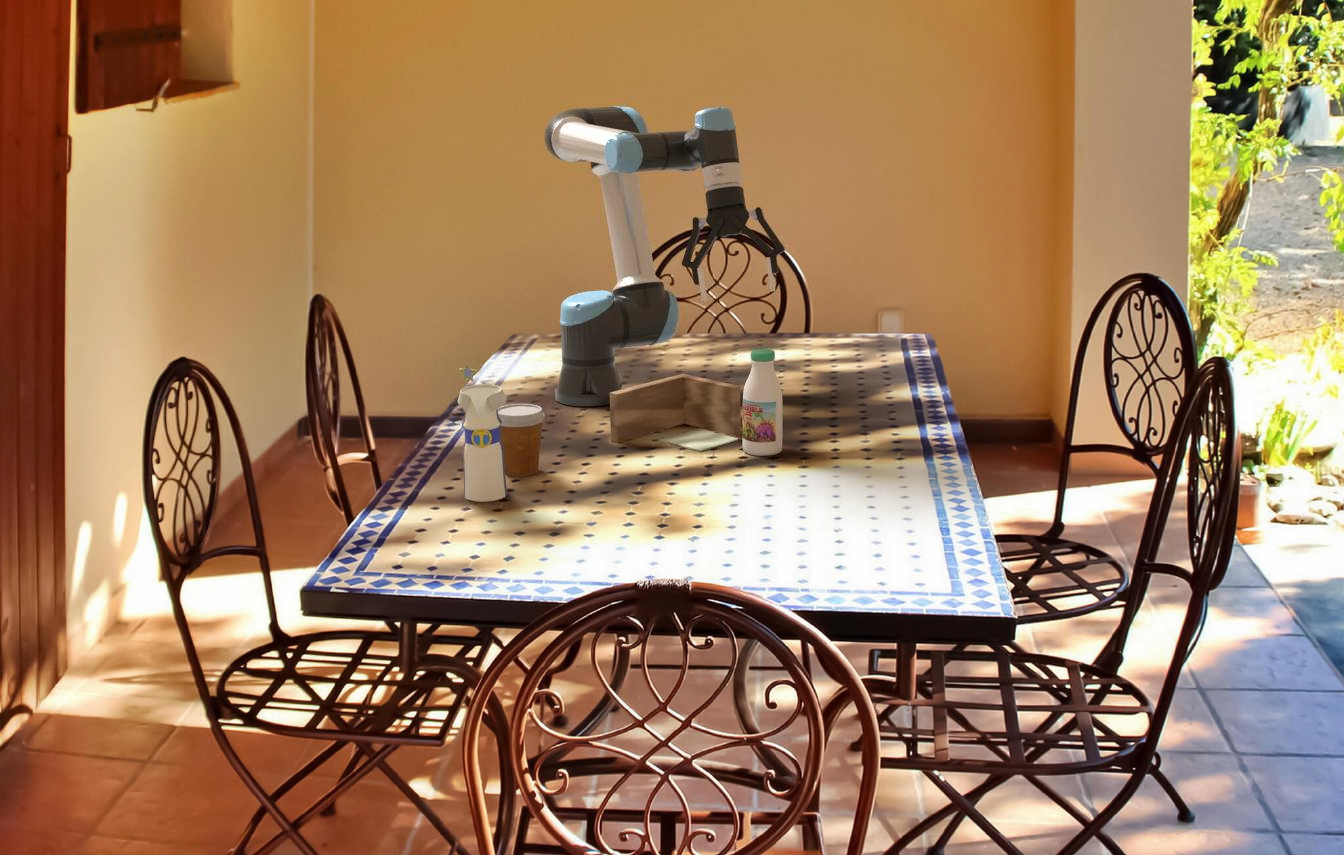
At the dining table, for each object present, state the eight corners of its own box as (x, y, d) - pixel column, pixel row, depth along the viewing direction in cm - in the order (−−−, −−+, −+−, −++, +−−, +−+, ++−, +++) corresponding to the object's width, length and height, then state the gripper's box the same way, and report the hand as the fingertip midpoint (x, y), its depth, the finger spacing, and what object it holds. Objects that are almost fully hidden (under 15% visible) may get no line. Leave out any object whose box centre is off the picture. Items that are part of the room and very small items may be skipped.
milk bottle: (755, 443, 285) (756, 344, 279) (789, 449, 281) (790, 349, 275) (734, 452, 279) (734, 352, 273) (769, 459, 275) (769, 357, 269)
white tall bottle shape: (510, 501, 253) (503, 362, 246) (461, 503, 252) (453, 364, 245) (511, 486, 260) (505, 352, 254) (464, 488, 260) (456, 353, 253)
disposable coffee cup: (496, 464, 273) (493, 403, 270) (546, 463, 274) (544, 402, 271) (494, 480, 264) (491, 417, 261) (546, 478, 265) (544, 415, 262)
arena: (610, 441, 288) (609, 392, 285) (683, 419, 302) (682, 373, 299) (677, 459, 275) (676, 408, 272) (749, 436, 290) (749, 388, 287)
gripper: (658, 196, 279) (673, 304, 280) (785, 175, 275) (800, 285, 276) (664, 200, 287) (679, 305, 288) (788, 180, 283) (803, 287, 283)
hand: (738, 296), depth 282 cm, fingers open, 13 cm apart
